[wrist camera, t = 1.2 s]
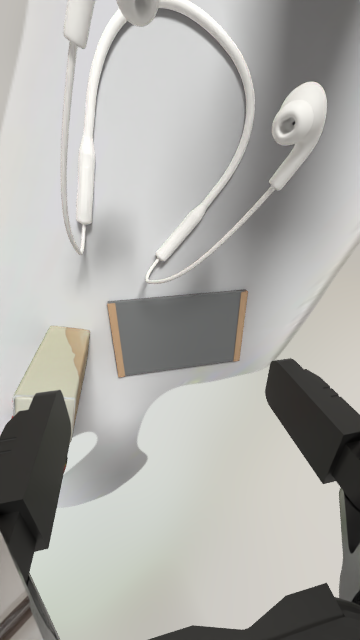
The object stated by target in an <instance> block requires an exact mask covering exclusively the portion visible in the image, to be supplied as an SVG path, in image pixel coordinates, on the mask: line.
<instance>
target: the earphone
mask: <svg viewBox="0 0 360 640" xmlns="http://www.w3.org/2000/svg"><path fill="white" fill-rule="evenodd" d="M94 4H95V0H68V3H67V9H66V16H65V23H64V32H63V33H64V36H65V38H67V39H68V40H69V41H70V43H69V52H68V62H67V72H66V83H65V94H64V107H63V121H62V138H61V199H62V209H63V217H64V222H65V227H66V231H67V234H68V237H69V240H70V242H71V244H72V246H73V247H74V249H75V250H76V252H77V253H78V254H79V255H81V254H82V253H83V251H84V246H85V230H86V225H87V224H91V222H92V206H93V189H94V172H95V150H94V142H93V129H94V118H95V106H96V97H97V90H98V84H99V79H100V75H101V71H102V67H103V64H104V61H105V58H106V55H107V53H108V50H109V48H110V46H111V44H112V42H113V40H114V38H115V36H116V35H117V33H118V31H119V30H120V29H121V27H122V26H123V25H124V24H125V23H126V22H127V21H129V22H130V23H131V24H133V25H135V26H138V27H143V26H146V25H148V24H149V23H150V22H151V21H152V20H153V19H154V17H155V15H156V13H157V10H158V8H165V9H170V10H173V11H176V12H179V13H181V14H183V15H185V16H187V17H189V18H190V19H192V20H193V21H195V22H196V23H198V24H199V25H200V26H202V27H203V28H204V29H205V30H206V31H208V32H209V33H210V34H211V35H212V36H213V37H214V38H215V39H216V40H217V41H218V42H219V43H220V44H221V46H222V47H223V48H224V49H225V50H226V52H227V53H228V54H229V56H230V57H231V59H232V61H233V62H234V64H235V66H236V68H237V70H238V72H239V74H240V76H241V79H242V82H243V86H244V90H245V96H246V119H245V125H244V130H243V134H242V137H241V140H240V143H239V146H238V148H237V151H236V153H235V155H234V157H233V159H232V161H231V163H230V165H229V166H228V168H227V170H226V171H225V173H224V174H223V176H222V177H221V179H220V180H219V182H218V183H217V184H216V185H215V187H214V188H213V189H212V190H211V192H210V193H209V194H208V195H207V197H206V198H205V199H204V201H203V202H202V203H201V204H200V205H198V206H197V207H196V208H194V209H193V210H192V211H191V212H190V213H189V214H188V215H187V216H186V218H185V219H184V220H183V221H182V222H181V223H180V225H179V226H178V227H177V228H176V229H175V231H174V232H173V233H172V234H171V235H170V236H169V238H168V239H167V240H166V241H165V242H164V244H163V245H162V246H161V247H160V248H159V249H158V251H157V252H156V256H157V259H156V261H155V262H154V263H153V264H152V266H151V267H150V269H149V270H148V272H147V274H146V277H145V280H146V282H147V283H149V284H160V283H165V282H168V281H171V280H174V279H176V278H178V277H180V276H182V275H183V274H185V273H187V272H188V271H190V270H191V269H193V268H194V267H196V266H197V265H198V264H200V263H201V262H202V261H204V260H205V259H206V258H207V257H208V256H210V255H211V254H212V253H213V252H214V251H215V250H216V249H218V248H219V247H220V246H221V245H222V244H223V243H224V242H225V241H226V240H227V239H228V238H229V237H230V236H231V235H232V234H233V233H235V231H236V230H237V229H238V228H239V227H240V226H241V225H242V224H243V223H244V222H245V221H246V220H247V219H248V218H249V217H250V216H251V215H252V214H253V213H254V212H255V211H256V210H257V209H258V208H259V207H260V206H261V204H262V203H263V202H264V201H265V200H266V199H267V198H268V197H269V196H270V195H271V194H272V192H273V191H274V190H275V189H277V190H278V191H280V190H281V189H282V188H283V187H284V186H285V184H286V183H287V182H288V181H289V179H290V178H291V177H292V176H293V175H294V173H295V172H296V171H297V170H298V168H299V167H300V166H301V165H302V163H303V162H304V161H305V160H306V158H307V157H308V156H309V155H310V153H311V152H312V150H313V149H314V147H315V146H316V144H317V142H318V140H319V138H320V136H321V134H322V131H323V128H324V124H325V120H326V113H327V99H326V94H325V91H324V89H323V88H322V86H321V85H320V84H318V83H317V82H306V83H303V84H301V85H300V86H298V87H297V88H295V89H294V90H293V91H292V92H291V93H290V94H289V95H288V96H287V98H286V99H285V101H284V102H283V104H282V106H281V108H280V111H279V112H278V113H277V115H276V116H275V118H274V121H273V124H272V135H273V138H274V140H275V141H276V142H277V143H278V144H280V145H283V146H288V145H292V144H295V146H294V148H293V149H292V151H291V152H290V154H289V155H288V156H287V158H286V159H285V160H284V162H283V163H282V164H281V166H280V167H279V168H278V170H277V171H276V172H275V173H274V175H273V176H272V177H271V179H270V180H269V183H270V184H271V185H272V186H271V187H270V188H269V189H268V190H267V191H266V192H265V194H264V195H263V196H262V197H261V198H260V199H259V200H258V201H257V202H256V204H255V205H254V206H253V207H252V208H251V209H250V210H249V211H248V212H247V213H246V214H245V215H244V216H243V218H242V219H241V220H240V221H239V222H238V223H237V224H236V225H235V226H234V227H233V228H232V229H231V230H230V231H229V232H228V233H227V234H226V235H225V236H224V237H223V238H222V239H221V240H220V241H219V242H218V243H216V244H215V245H214V246H213V247H212V248H211V249H210V250H209V251H208V252H206V253H205V254H204V255H203V256H202V257H201V258H199V259H198V260H197V261H195V262H194V263H193V264H191V265H190V266H189V267H187V268H186V269H184V270H183V271H181V272H179V273H177V274H175V275H173V276H171V277H169V278H166V279H162V280H149V279H148V278H149V275H150V273H151V271H152V270H153V268H154V267H155V266H156V264H157V263H158V262H159V261H160V260H161V261H164V262H165V261H166V260H167V259H168V258H169V257H170V255H171V254H172V253H173V252H174V251H175V250H176V249H177V247H178V246H179V245H180V244H181V243H182V242H183V240H184V239H185V238H186V237H187V236H188V235H189V233H190V232H191V231H192V230H193V229H194V228H195V226H196V225H197V224H198V223H199V222H200V221H201V219H202V217H203V215H204V213H205V212H206V209H207V208H208V206H209V205H210V204H211V203H212V201H213V200H214V199H215V198H216V196H217V195H218V194H219V193H220V191H221V190H222V189H223V188H224V186H225V185H226V184H227V182H228V181H229V179H230V178H231V176H232V175H233V173H234V171H235V170H236V168H237V166H238V164H239V162H240V160H241V158H242V156H243V154H244V152H245V149H246V147H247V144H248V141H249V138H250V135H251V131H252V127H253V121H254V113H255V96H254V88H253V83H252V79H251V75H250V72H249V69H248V67H247V64H246V62H245V60H244V58H243V56H242V54H241V52H240V51H239V49H238V47H237V46H236V44H235V43H234V42H233V40H232V39H231V38H230V36H229V35H228V34H227V33H226V32H225V30H224V29H223V28H222V27H221V26H220V25H219V24H218V23H217V22H216V21H215V20H214V19H213V18H211V17H210V16H209V15H208V14H207V13H206V12H204V11H203V10H202V9H200V8H199V7H198V6H196V5H195V4H193V3H192V2H190V1H188V0H117V4H118V6H119V9H118V11H117V12H116V13H115V14H114V15H113V17H112V18H111V20H110V21H109V23H108V24H107V26H106V28H105V30H104V32H103V34H102V36H101V38H100V41H99V43H98V46H97V48H96V51H95V55H94V58H93V62H92V65H91V70H90V74H89V80H88V86H87V94H86V106H85V119H84V132H83V137H82V141H81V145H80V149H79V159H78V186H77V201H76V207H77V214H76V220H77V221H78V222H79V223H81V224H82V239H81V248H80V249H79V248H78V246H77V245H76V243H75V240H74V238H73V235H72V231H71V227H70V222H69V216H68V206H67V149H68V133H69V121H70V109H71V99H72V89H73V80H74V71H75V62H76V54H77V46H78V47H80V48H82V49H85V48H86V44H87V39H88V34H89V29H90V24H91V19H92V14H93V9H94Z"/></svg>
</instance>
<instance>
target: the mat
mask: <svg viewBox="0 0 360 640" xmlns="http://www.w3.org/2000/svg"><path fill="white" fill-rule="evenodd" d="M247 295H248V291H246V290H236V291H224V292H212V293H201V294H189V295H178V296H166V297H154V298H143V299H131V300H119V301H108V303H107V305H108V311H109V318H110V324H111V331H112V337H113V344H114V350H115V357H116V363H117V370H118V376H119V377H125V376H128V375H136V374H143V373H150V372H157V371H165V370H172V369H179V368H186V367H194V366H201V365H208V364H215V363H223V362H230V361H239V358H240V350H241V342H242V334H243V327H244V319H245V311H246V303H247Z"/></svg>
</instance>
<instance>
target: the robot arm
mask: <svg viewBox="0 0 360 640" xmlns="http://www.w3.org/2000/svg"><path fill="white" fill-rule="evenodd" d="M265 393H266V399H267V402H268V404H269V406H270V407H271V409H272V410H273V412H274V413H275V415H276V416H277V417H278V419H279V420H280V422H281V423H282V425H283V426H284V428H285V429H286V431H287V432H288V434H289V435H290V436H291V438H292V439H293V441H294V442H295V444H296V445H297V447H298V448H299V450H300V451H301V453H302V454H303V455H304V457H305V458H306V460H307V461H308V463H309V464H310V466H311V467H312V468H313V470H314V471H315V473H316V474H317V476H318V477H319V479H320V480H321V482H322V483H323V484H325V483H330V482H334V481H337V483H338V484H339V485H340V487H341V489H340V491H339V500H340V501H339V503H340V517H341V532H342V546H343V565H342V570H341V575H340V585H339V598H336V597H334V596H333V594H332V592H331V590H330V588H329V586H328V584H327V583H325V584H322V585H318V586H315V587H312V588H309V589H306V590H303V591H300V592H296V593H294V594H290V595H287V596H285V597H284V598H283V599H282V600H281V601H279V602H278V603H277V604H276V605H275V606H274V607H273V608H271V609H270V610H269V611H268V612H267V613H266V614H265V615H264V616H262V617H261V618H260V619H259V620H258V621H257V622H255V623H254V624H253V625H252V626H251V627H249V628H248V629H245V630H237V629H226V628H215V627H203V626H190V627H187V628H183V629H180V630H177V631H174V632H171V633H168V634H164V635H161V636H158V637H155V638H152V639H149V640H360V415H359V414H358V413H357V412H356V411H355V410H354V409H353V408H352V407H351V406H350V405H349V404H348V403H347V402H346V401H345V400H343V399H342V398H341V397H339V396H338V394H337V393H336V392H335V391H334V390H333V389H330V386H329V385H328V384H327V383H325V382H324V381H323V380H322V379H321V378H320V377H319V376H317V375H315V374H314V373H312V372H310V371H308V370H307V369H305V370H304V369H303V368H302V367H301V366H300V365H299V364H298V363H297V362H296V361H294V360H293V359H283V360H276V361H272V362H271V364H270V369H269V374H268V379H267V385H266V390H265ZM70 439H71V422H70V418H69V414H68V411H67V407H66V404H65V401H64V397H63V394H62V391H61V390H54V391H47V392H40V393H36V394H35V395H34V397H33V400H32V402H31V404H30V407H29V409H28V410H23V411H19V412H18V413H17V414H16V415H15V416H14V417H13V418H12V419H11V420H10V421H9V422H8V423H7V424H6V426H5V428H4V430H3V432H2V434H1V436H0V640H60V638H59V636H58V634H57V631H56V630H55V627H54V625H53V623H52V621H51V619H50V616H49V614H48V612H47V610H46V608H45V606H44V603H43V601H42V599H41V597H40V595H39V592H38V590H37V588H36V586H35V584H34V582H33V579H32V577H31V575H30V573H29V571H30V567H31V563H32V558H33V554H34V552H35V551H39V550H44V549H48V547H49V542H50V537H51V532H52V527H53V522H54V518H55V513H56V508H57V503H58V498H59V493H60V488H61V483H62V478H63V473H64V468H65V463H66V458H67V453H68V448H69V444H70Z"/></svg>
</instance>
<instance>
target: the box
mask: <svg viewBox="0 0 360 640" xmlns="http://www.w3.org/2000/svg"><path fill="white" fill-rule="evenodd" d="M89 337H90V331H89V330H84V329H76V328H68V327H58V326H50V328H49V329H48V331H47V333H46V335H45V337H44V339H43V341H42V343H41V344H40V346H39V348H38V350H37V352H36V354H35V356H34V358H33V360H32V361H31V363H30V365H29V367H28V369H27V371H26V373H25V375H24V377H23V378H22V380H21V382H20V384H19V386H18V388H17V390H16V392H15V394H14V396H13V417H14V416H15V415H16V414H17V413H18V412H19V411H23V410H28V409H29V407H30V404H31V402H32V400H33V397H34V395H35V394H36V393H40V392H47V391H54V390H61V391H62V394H63V397H64V401H65V404H66V407H67V411H68V414H69V418H70V422H71V439H70V442H71V440H72V435H73V429H74V424H75V419H76V414H77V409H78V404H79V399H80V394H81V389H82V383H83V378H84V373H85V369H86V363H87V355H88V347H89Z"/></svg>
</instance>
